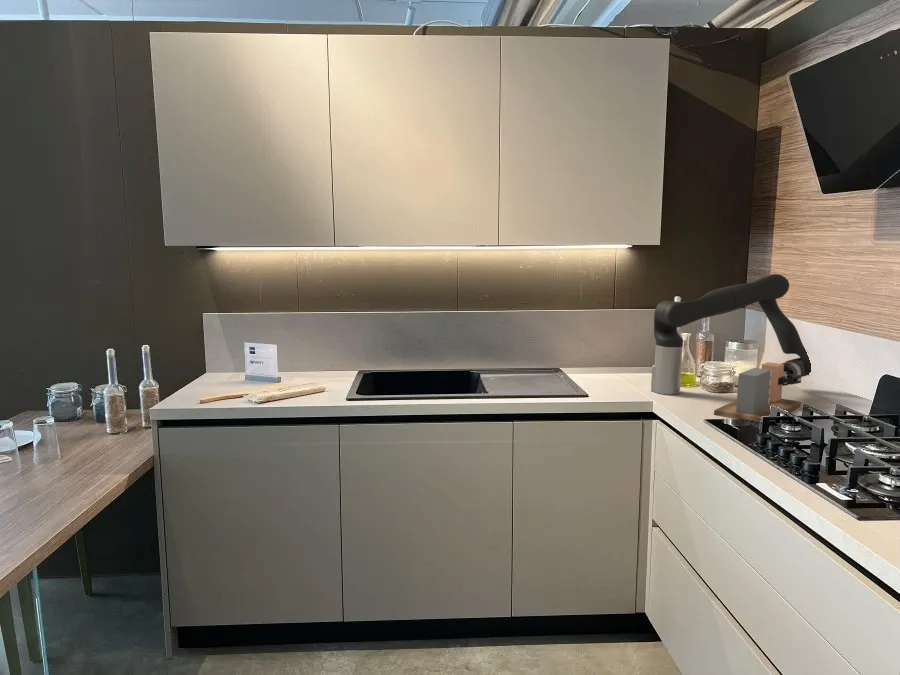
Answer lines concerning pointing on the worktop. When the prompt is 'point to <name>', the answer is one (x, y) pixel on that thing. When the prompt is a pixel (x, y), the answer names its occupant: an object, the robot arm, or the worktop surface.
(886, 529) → the worktop surface
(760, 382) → the charcoal ticket block
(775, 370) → the terracotta stub
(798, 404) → the walnut board
